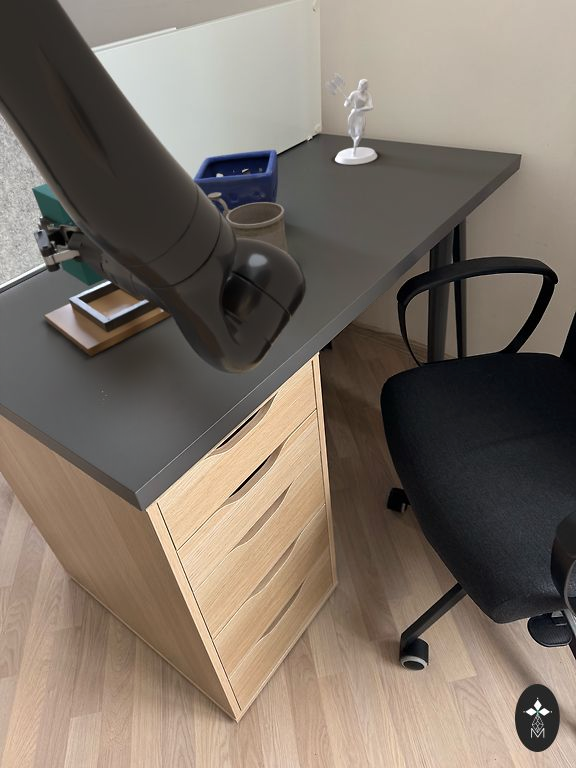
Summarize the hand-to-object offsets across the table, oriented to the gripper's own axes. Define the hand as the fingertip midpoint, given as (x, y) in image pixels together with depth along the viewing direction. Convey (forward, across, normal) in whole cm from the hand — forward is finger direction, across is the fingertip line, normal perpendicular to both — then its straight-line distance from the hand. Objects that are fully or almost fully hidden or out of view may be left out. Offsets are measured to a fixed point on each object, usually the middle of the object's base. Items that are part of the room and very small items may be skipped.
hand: (65, 217), depth 66 cm
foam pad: (-3, 0, +6) cm, 7 cm away
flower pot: (+14, -35, +18) cm, 42 cm away
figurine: (+24, -75, +18) cm, 81 cm away
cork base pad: (+7, -5, +18) cm, 20 cm away
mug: (+1, -25, +18) cm, 31 cm away
